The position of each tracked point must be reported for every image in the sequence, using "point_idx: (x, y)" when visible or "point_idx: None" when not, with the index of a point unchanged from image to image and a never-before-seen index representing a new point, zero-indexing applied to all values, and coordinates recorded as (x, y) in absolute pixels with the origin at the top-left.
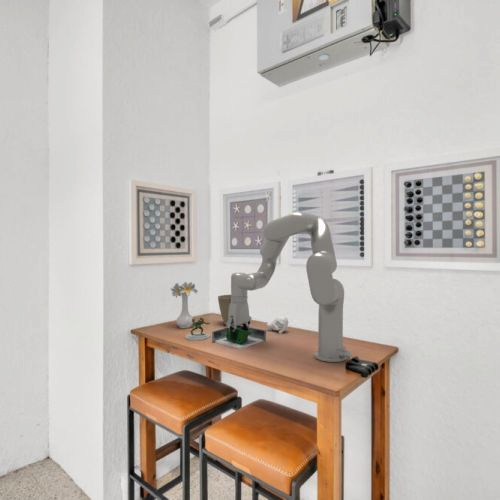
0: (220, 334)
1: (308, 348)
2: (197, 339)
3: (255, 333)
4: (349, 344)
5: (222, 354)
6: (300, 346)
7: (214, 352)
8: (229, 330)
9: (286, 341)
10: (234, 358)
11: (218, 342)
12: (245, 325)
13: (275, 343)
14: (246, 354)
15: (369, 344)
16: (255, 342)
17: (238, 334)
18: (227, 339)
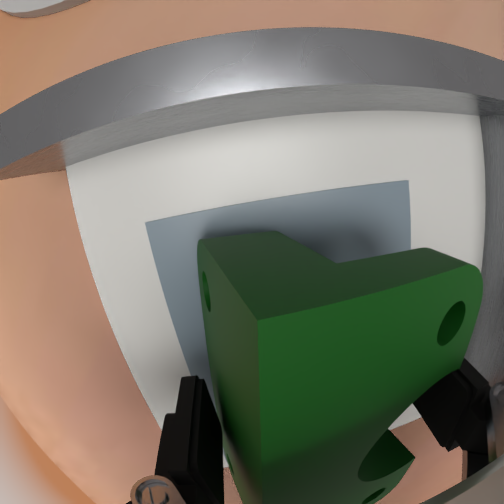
0: (148, 129)
1: (417, 500)
2: (9, 11)
3: (489, 365)
4: None
5: (48, 440)
6: (429, 485)
7: (10, 392)
8: (138, 483)
9: None
10: (92, 491)
11: (85, 231)
12: (485, 439)
13: (430, 445)
14: None
15: None
16: None
17: (243, 488)
18: (228, 229)
